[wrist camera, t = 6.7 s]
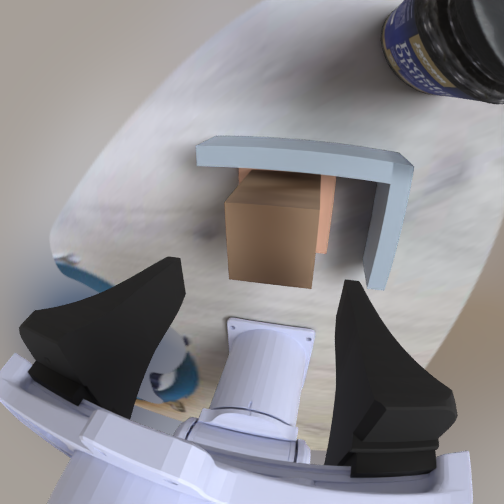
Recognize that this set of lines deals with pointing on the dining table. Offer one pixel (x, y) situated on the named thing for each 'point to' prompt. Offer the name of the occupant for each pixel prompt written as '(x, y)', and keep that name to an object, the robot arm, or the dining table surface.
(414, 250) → the dining table surface
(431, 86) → the pill bottle
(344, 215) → the dining table surface
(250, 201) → the walnut block
